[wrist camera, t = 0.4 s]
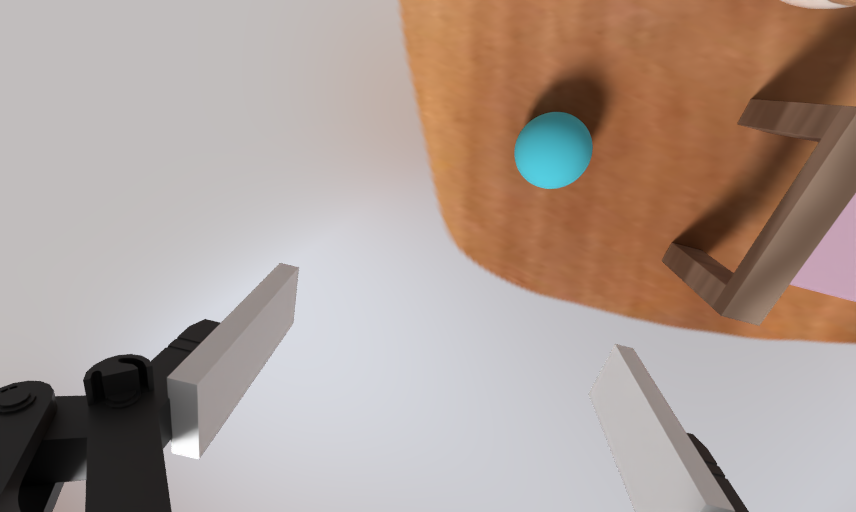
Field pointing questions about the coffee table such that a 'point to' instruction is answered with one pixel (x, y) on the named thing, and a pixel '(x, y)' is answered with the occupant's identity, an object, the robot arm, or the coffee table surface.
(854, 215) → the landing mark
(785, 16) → the coffee table surface
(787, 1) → the lidded jar
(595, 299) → the coffee table surface
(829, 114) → the bridge
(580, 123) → the ball
